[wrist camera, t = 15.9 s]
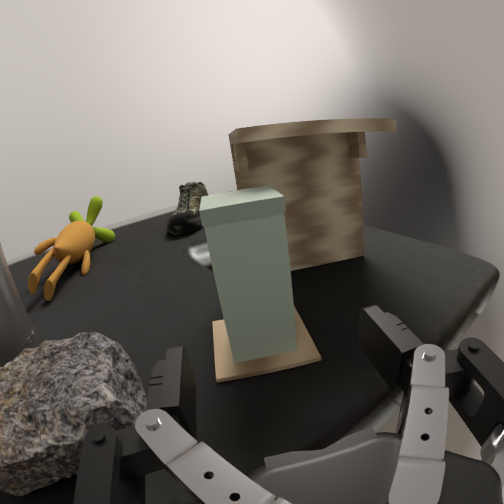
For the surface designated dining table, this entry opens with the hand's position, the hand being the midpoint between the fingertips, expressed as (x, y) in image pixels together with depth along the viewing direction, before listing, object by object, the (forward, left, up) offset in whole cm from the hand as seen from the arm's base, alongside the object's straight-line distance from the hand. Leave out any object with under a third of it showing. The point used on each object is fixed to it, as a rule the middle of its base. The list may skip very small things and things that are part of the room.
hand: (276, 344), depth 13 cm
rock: (-16, +2, -8) cm, 18 cm away
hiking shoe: (-8, +57, -8) cm, 58 cm away
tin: (0, +10, -7) cm, 12 cm away
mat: (0, +10, -8) cm, 13 cm away
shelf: (+9, +19, -7) cm, 22 cm away
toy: (-33, +42, -8) cm, 54 cm away
